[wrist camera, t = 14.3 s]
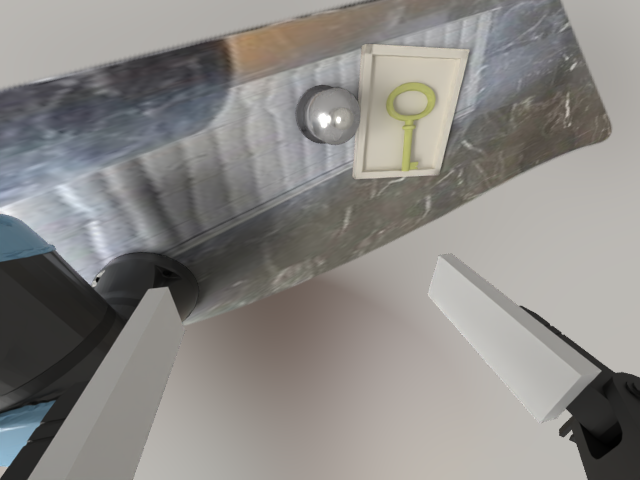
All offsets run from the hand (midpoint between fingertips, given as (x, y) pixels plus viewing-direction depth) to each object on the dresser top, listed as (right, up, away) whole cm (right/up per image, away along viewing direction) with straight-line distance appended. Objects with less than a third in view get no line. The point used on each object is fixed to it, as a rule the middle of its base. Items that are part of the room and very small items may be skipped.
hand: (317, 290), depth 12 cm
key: (+13, +20, +25) cm, 35 cm away
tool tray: (+13, +21, +25) cm, 35 cm away
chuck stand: (0, +20, +22) cm, 30 cm away
